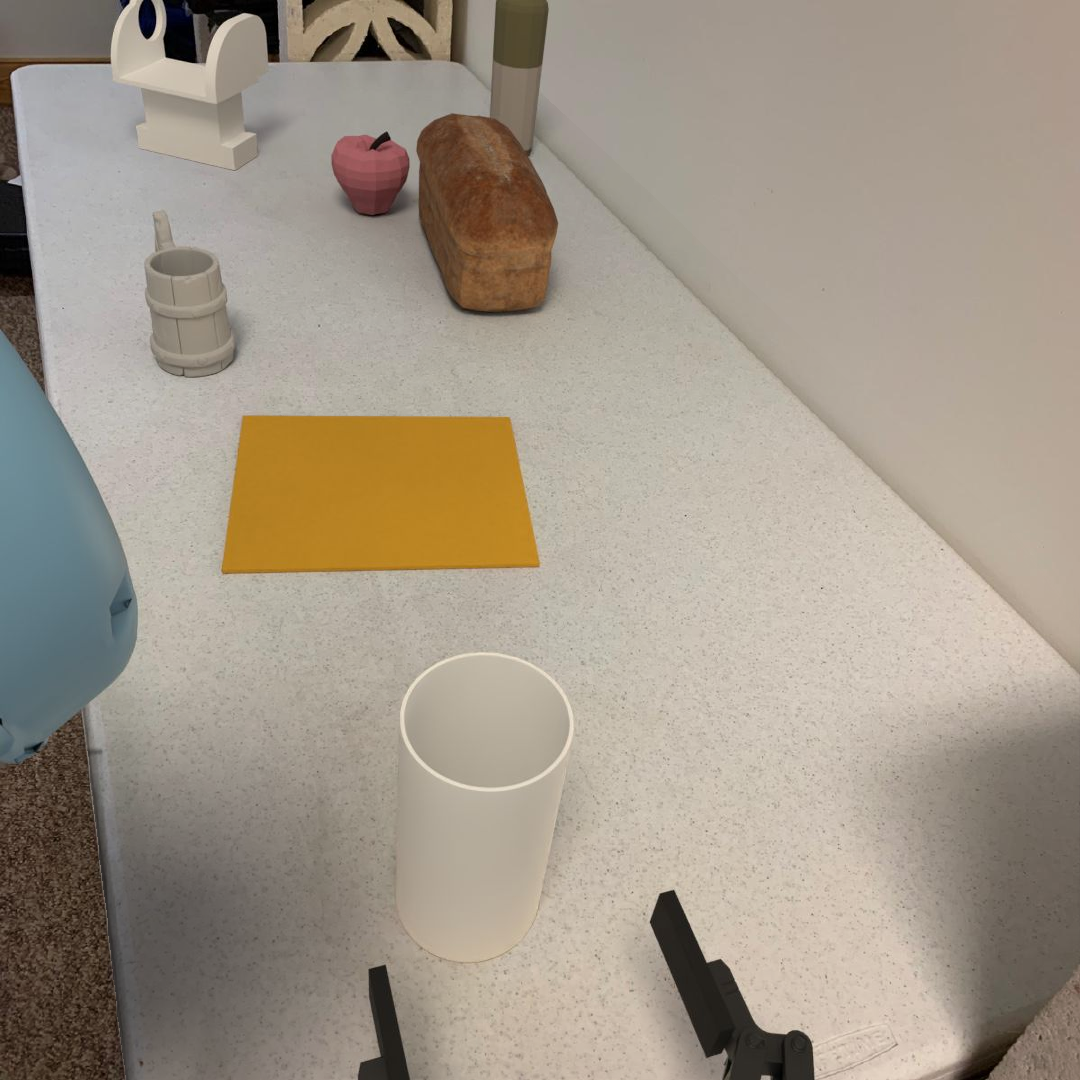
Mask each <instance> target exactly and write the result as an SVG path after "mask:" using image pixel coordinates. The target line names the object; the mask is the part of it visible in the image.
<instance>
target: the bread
mask: <svg viewBox="0 0 1080 1080" xmlns="http://www.w3.org/2000/svg"><path fill="white" fill-rule="evenodd" d="M415 151H416V155H417V158H418V160H419V168H418V217H419V220H420V224H421V225H422V227H423V230H424V232H425V235H426V237H427V240H428V243H429V246H430V249H431V251H432V254H433V256H434V258H435V261H436V262H437V264H438V266H439V269H440V273H441V275H442V279H443V282H444V285H445V288H446V290H447V292H448V293H449V295H450V296H451V298H452V299H453V300H454V301H455V302H456V303H457V304H458V305H459V306H460V307H461V308H462V309H463V310H464V309H465V310H470V311H479V312H515V311H522V310H528V309H534V308H536V307H538V306H539V305H540V304H541V303H543V301H544V300H545V299H546V295H547V291H548V285H549V277H550V271H551V265H552V252H553V251H552V250H553V247H554V245H555V242H556V241H555V240H556V238H557V234H558V226H559V221H558V217H557V214H556V210H555V208H554V206H553V203H552V201H551V198H550V197H549V195H548V192H547V189H546V186H545V184H544V183H543V181H542V179H541V176H540V175H539V173H538V172H537V170H536V168H535V166H534V164H533V162H532V161H531V159H530V157H529V155H527V154H526V152H525V151H524V149H523V147H522V146H521V144H520V142H519V141H518V140H517V139H516V137H515V136H514V134H513V133H512V132H511V130H510V129H509V128H508V127H507V126H505V125H504V124H502V123H501V122H499V121H498V120H496V119H494V118H490V116H483V115H468V114H460V113H452V112H451V113H449V114H446V115H444V116H441V117H438V118H436V119H433V121H431V122H429V123H428V124H427V125H426V126H425V127H424V128H422V130H421V131H420V134H419V135H418V138H417V140H416V148H415Z"/></svg>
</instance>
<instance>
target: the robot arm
mask: <svg viewBox="0 0 1080 1080" xmlns="http://www.w3.org/2000/svg"><path fill="white" fill-rule="evenodd" d="M138 606H139V605H138V598H137V593H136V591H135V588H134V584H133V581H132V576H131V573H130V569H129V564H128V559H127V556H126V553H125V550H124V547H123V545H122V541H121V539H120V536H119V533H118V531H117V529H116V526H115V523H114V521H113V518H112V516H111V514H110V512H109V509H108V508H107V506H106V504H105V501H104V499H103V496H102V494H101V492H100V490H99V488H98V486H97V484H96V482H95V480H94V478H93V477H92V474H91V472H90V470H89V468H88V466H87V464H86V462H85V460H84V458H83V456H82V455H81V452H80V451H79V449H78V447H77V446H76V443H75V442H74V440H73V439H72V437H71V435H70V433H69V432H68V430H67V428H66V426H65V424H64V423H63V421H62V419H61V417H60V416H59V414H58V413H57V411H56V409H55V408H54V406H53V404H52V403H51V401H50V399H49V398H48V397H47V395H46V393H45V392H44V390H43V389H42V387H41V385H40V384H39V382H38V380H37V378H35V376H34V374H33V373H32V371H31V370H30V369H29V367H28V365H27V364H26V363H25V361H24V360H23V358H22V357H21V356H20V354H19V352H18V351H17V349H16V348H15V347H14V345H13V344H12V343H11V341H10V340H9V339H8V337H7V336H6V335H5V333H4V332H3V330H2V329H1V328H0V769H1V768H3V767H5V766H6V765H7V764H9V765H18V764H20V763H22V762H23V761H26V759H28V758H31V757H33V756H34V755H35V754H37V753H38V751H40V750H41V749H43V748H44V747H45V746H46V745H47V743H48V742H49V739H50V737H51V736H52V735H53V734H54V733H55V732H56V731H58V730H59V729H60V728H61V727H62V726H64V725H65V724H66V723H67V722H68V721H70V719H72V718H73V717H74V716H76V715H77V714H78V713H79V712H80V711H81V710H83V709H84V708H85V707H86V706H87V705H89V704H90V703H91V702H92V701H94V699H95V698H97V697H98V696H99V695H101V693H103V692H104V691H105V690H106V689H107V688H109V687H110V686H111V685H112V684H113V683H114V682H115V681H116V680H117V679H118V678H119V677H120V675H121V674H122V673H123V672H124V671H125V669H126V668H127V666H128V664H129V662H130V660H131V658H132V655H133V653H134V651H135V648H136V643H137V640H138V626H139V625H138V624H139V608H138ZM680 901H681V900H680V899H679V896H678V895H677V892H676V890H675V889H671V890H667V891H664V892H660V893H659V894H658V897H657V900H656V902H655V905H654V908H653V911H652V913H651V916H650V919H649V924H650V927H651V929H652V931H653V934H654V936H655V938H656V941H657V943H658V946H659V948H660V951H661V953H662V955H663V958H664V960H665V962H666V965H667V968H668V970H669V972H670V975H671V977H672V979H673V982H674V984H675V986H676V989H677V991H678V993H679V996H680V999H681V1001H682V1003H683V1006H684V1008H685V1011H686V1013H687V1015H688V1017H689V1020H690V1023H691V1026H692V1027H693V1030H694V1032H695V1034H696V1037H697V1039H698V1041H699V1044H700V1046H701V1049H702V1052H703V1053H704V1056H705V1058H706V1059H708V1058H709V1059H710V1058H712V1057H715V1056H718V1055H721V1054H723V1052H724V1050H725V1053H726V1055H727V1057H726V1059H725V1061H724V1063H723V1066H724V1068H723V1069H724V1070H723V1074H722V1078H721V1080H762V1076H767V1077H769V1080H816V1079H815V1062H814V1047H813V1042H812V1040H811V1039H810V1037H809V1035H807V1034H806V1033H805V1032H804V1031H801V1030H799V1029H791V1030H790V1031H788V1032H787V1033H774V1032H768V1031H766V1030H764V1029H762V1028H761V1027H760V1026H759V1025H758V1024H757V1023H756V1021H755V1020H754V1018H753V1016H752V1013H751V1011H750V1009H749V1007H748V1005H747V1003H746V1001H745V999H744V996H743V994H742V992H741V990H740V987H739V986H738V983H737V981H736V979H735V977H734V974H733V973H732V970H731V968H730V967H729V966H728V965H727V964H726V963H725V961H723V960H722V958H718V959H715V960H711V961H707V959H706V957H705V954H704V953H703V950H702V948H701V946H700V944H699V942H698V939H697V937H696V934H695V933H694V931H693V929H692V926H691V923H690V922H689V920H688V917H687V915H686V913H685V910H684V908H683V906H682V904H681V902H680ZM367 972H368V973H367V974H368V975H367V976H368V999H369V1005H370V1010H371V1014H372V1020H373V1026H374V1029H375V1035H376V1041H377V1047H378V1051H379V1057H375V1058H371V1059H367V1060H364V1061H360V1064H359V1068H358V1073H357V1080H411V1078H410V1073H409V1068H408V1062H407V1059H406V1053H405V1050H404V1044H403V1040H402V1034H401V1030H400V1026H399V1025H400V1024H399V1020H398V1015H397V1011H396V1006H395V1001H394V997H393V991H392V987H391V983H390V977H389V973H388V969H387V964H383V965H378V966H375V967H371V968H368V971H367Z"/></svg>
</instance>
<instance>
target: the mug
mask: <svg viewBox="0 0 1080 1080" xmlns="http://www.w3.org/2000/svg"><path fill="white" fill-rule="evenodd" d="M152 219H153V224H154V232H155V233H154V252H153V253H151V254H149V255H148V257H146V259H144V264H143V265H144V273H145V281H146V282H145V283H146V287H145V291H144V297H145V302H146V305H147V307H148V308H149V313H150V320H151V330H152V333H151V335H150V339H149V344H150V350H151V352H152V353H151V354H153V356H154V357H155V359H156V362H157V363H158V364H159V367H160V368H161V369H162V370H164V371H165V372H167V373H169V374H172V375H176V376H178V377H181V376H184V377H186V378H201V377H205V376H210V375H211V376H212V375H214V374H217V373H219V372H221V371H222V370H225V369H226V368H227V367H228V366H229V364H230V363H231V362H233V360H234V356H235V355H234V351H235V350H236V344H237V343H236V336H235V332H234V331H233V330H232V328H231V327H230V321H229V315H228V310H227V303H228V292H227V287H226V285H225V284H224V283H223V278H222V272H221V267H220V261H219V260H218V257H217V256H216V255H215V254H214V253H212V252H211V251H209V250H206V249H204V248H201V247H196V246H194V247H191V246H187V245H178V246H176V245H175V243H174V240H173V235H172V229H171V225H170V220H169V217H168V213H167V212H166V211H165V210H164V209H163V210H159V211H158V210H157V211H154V212H152Z"/></svg>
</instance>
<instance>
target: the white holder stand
mask: <svg viewBox="0 0 1080 1080" xmlns="http://www.w3.org/2000/svg"><path fill="white" fill-rule="evenodd" d="M143 1H144V0H129V3H128V4H127V5H126V6H125V7H124V8H123V10H122V11H121V13H120V14H119V16H118V18H117V20H116V23H115V26H114V28H113V34H112V37H111V43H110V44H111V45H110V66H111V73H112V80H113V82H114V83H118V84H123V85H126V86H127V85H128V86H130V87H131V86H132V87H136V88H140V90H141V96H142V97H141V98H142V103H143V109H144V116H145V117H144V118H145V121H143V122H141V123H139V124H137V125H136V126H135V129H136V135H137V139H138V140H137V142H138V148H139V149H140V150H144V151H149V152H153V153H158V154H162V155H166V156H171V157H176V158H180V159H184V160H188V161H193V162H196V163H201V164H204V165H209V166H213V167H218V168H222V169H227V170H231V171H236V170H239V168H241V167H243V166H244V165H246V164H247V163H249V162H250V161H253V159H255V158H257V157H259V151H258V140H257V133H254V132H250V131H246V128H245V119H244V108H243V107H244V106H243V95H242V92H243V91H244V90H247V89H248V88H250V87H253V86H254V85H256V84H258V83H259V78H260V77H262V76H264V75H266V74H268V73H269V72H270V70H269V69H270V68H269V57H268V55H269V53H268V43H267V42H268V41H267V31H266V26H265V24H264V22H263V20H262V18H261V17H260V16H258V15H256V14H252V13H246V12H243V13H240V14H237V15H236V16H233V17H232V18H228V19H227V20H226V21H225V20H224V21H223V23H222V24H220V26H219V27H218V29H217V30H216V31H215V33H214V34H213V37H212V39H211V42H210V45H209V47H208V51H207V55H206V59H205V65H201V64H197V63H192V62H188V61H183V60H178V59H174V58H169V57H166V51H165V43H164V36H165V34H166V28H167V13H166V12H167V11H166V7H165V4H164V1H163V0H151V2H152V4H153V6H154V9H155V16H156V24H155V28H154V31H153V34H152V35H151V36H150V37H149V38H146V37H145V36H144V35H143V33H142V30H141V27H140V22H139V21H140V20H139V11H140V8H141V5H142V3H143Z"/></svg>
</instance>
